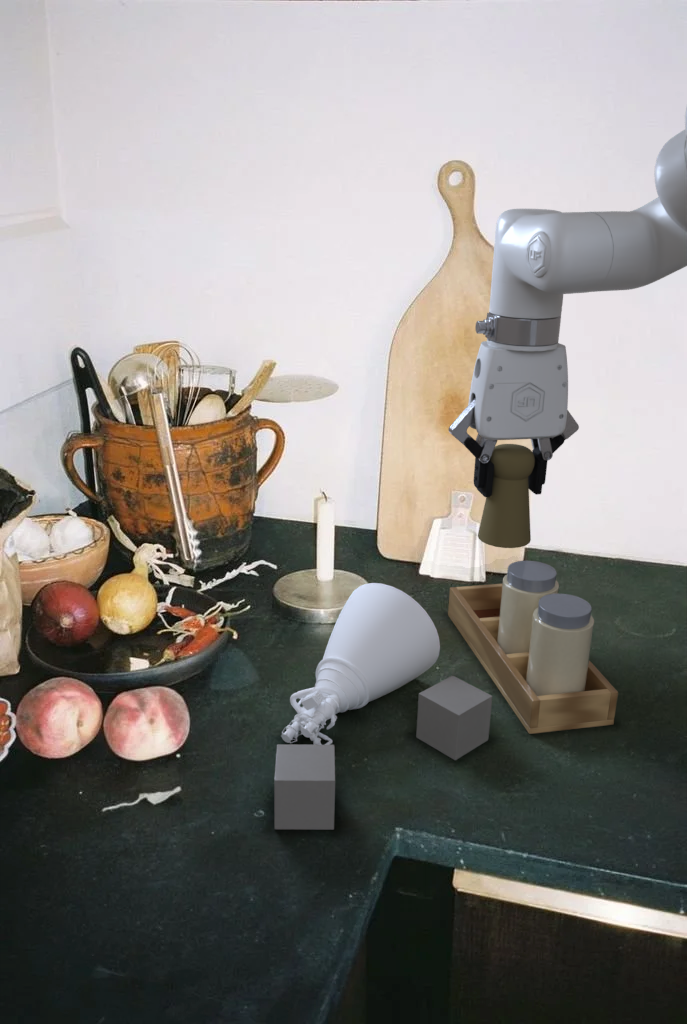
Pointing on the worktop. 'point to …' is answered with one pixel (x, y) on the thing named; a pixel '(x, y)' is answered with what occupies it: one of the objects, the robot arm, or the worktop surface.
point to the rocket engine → (366, 657)
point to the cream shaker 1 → (522, 602)
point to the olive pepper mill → (508, 498)
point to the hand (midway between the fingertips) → (508, 490)
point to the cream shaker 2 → (560, 645)
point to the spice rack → (479, 628)
